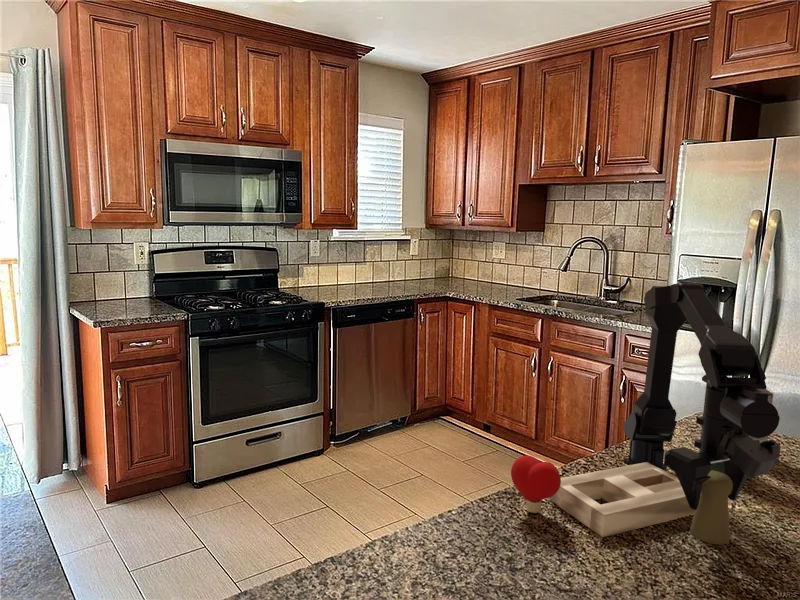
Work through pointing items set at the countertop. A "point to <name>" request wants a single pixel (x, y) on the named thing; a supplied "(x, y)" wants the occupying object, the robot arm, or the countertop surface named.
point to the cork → (713, 510)
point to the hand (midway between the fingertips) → (712, 504)
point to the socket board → (623, 498)
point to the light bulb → (535, 481)
